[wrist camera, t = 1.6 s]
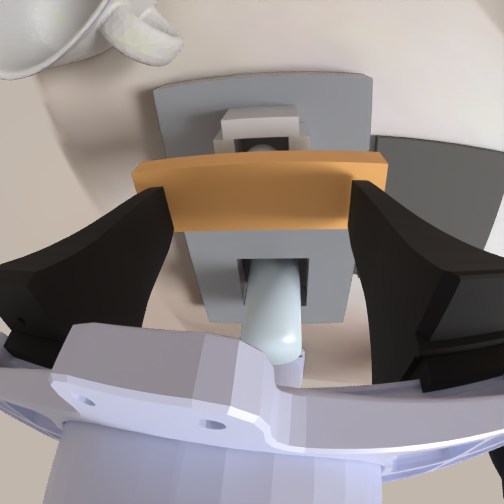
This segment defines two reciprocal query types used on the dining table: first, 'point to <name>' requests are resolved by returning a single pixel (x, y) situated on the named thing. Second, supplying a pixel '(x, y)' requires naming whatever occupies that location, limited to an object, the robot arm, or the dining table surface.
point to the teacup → (81, 33)
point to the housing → (282, 139)
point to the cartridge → (273, 309)
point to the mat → (446, 184)
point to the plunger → (261, 188)
